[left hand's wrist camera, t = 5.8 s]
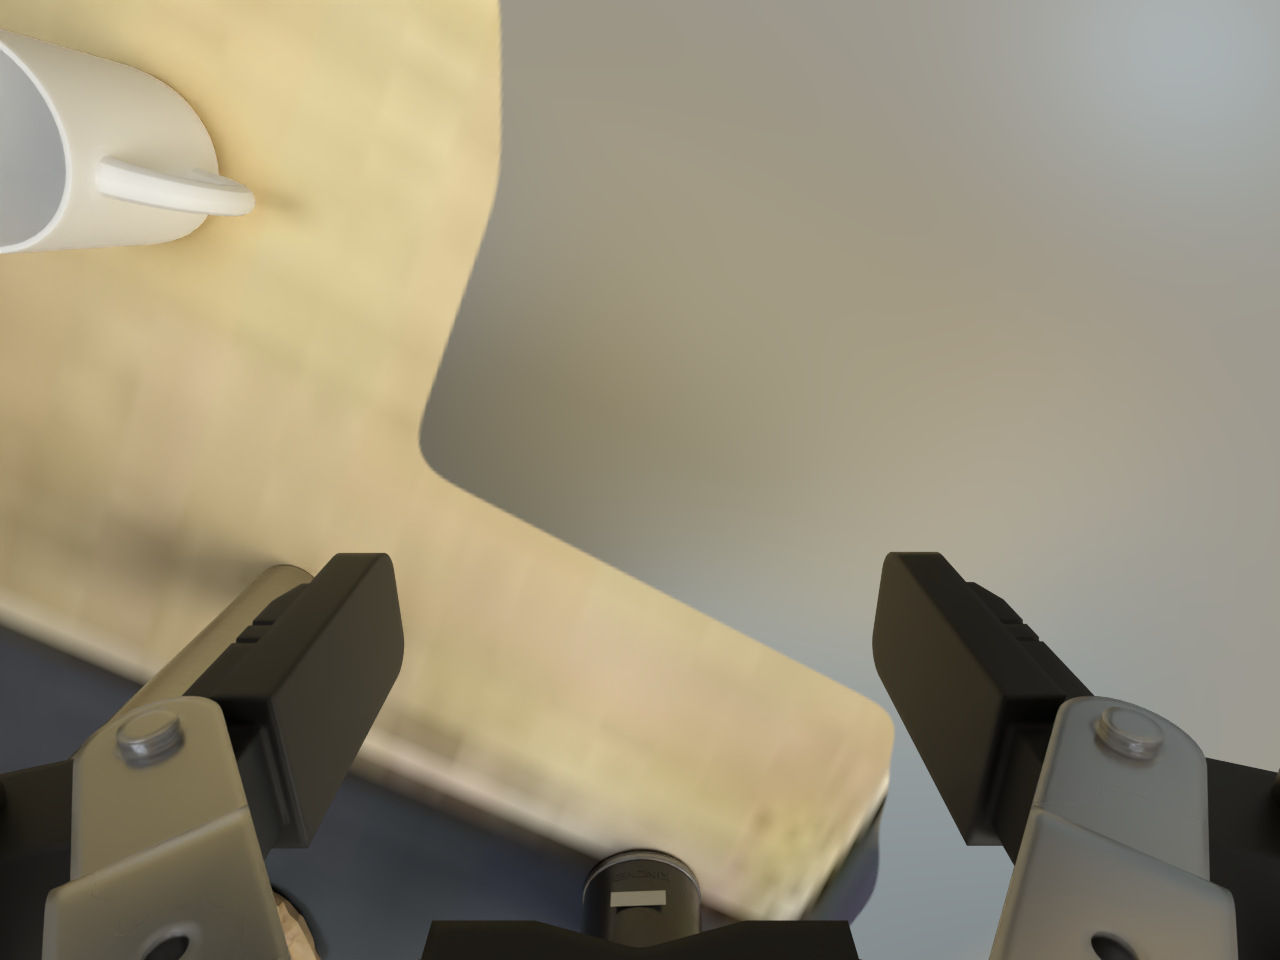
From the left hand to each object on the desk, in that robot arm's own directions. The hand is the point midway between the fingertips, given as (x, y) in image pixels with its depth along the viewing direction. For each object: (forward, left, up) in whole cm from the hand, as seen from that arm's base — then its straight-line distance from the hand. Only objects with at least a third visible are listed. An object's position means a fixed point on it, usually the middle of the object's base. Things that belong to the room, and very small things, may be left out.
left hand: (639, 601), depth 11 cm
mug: (+8, +24, -29) cm, 39 cm away
